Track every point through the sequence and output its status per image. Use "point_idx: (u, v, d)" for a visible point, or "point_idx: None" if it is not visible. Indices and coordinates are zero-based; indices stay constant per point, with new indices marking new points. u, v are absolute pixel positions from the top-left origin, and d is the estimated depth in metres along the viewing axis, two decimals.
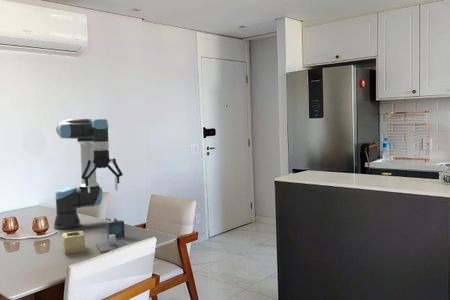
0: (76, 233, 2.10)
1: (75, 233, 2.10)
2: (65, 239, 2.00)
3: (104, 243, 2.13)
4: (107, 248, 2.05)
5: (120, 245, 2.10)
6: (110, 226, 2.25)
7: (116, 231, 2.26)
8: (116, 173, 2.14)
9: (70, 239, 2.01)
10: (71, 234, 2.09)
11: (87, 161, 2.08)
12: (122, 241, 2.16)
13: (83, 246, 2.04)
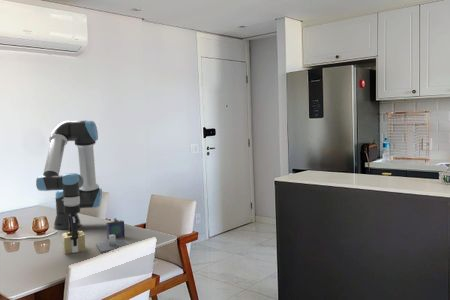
0: None
1: None
2: (65, 239, 2.00)
3: (104, 243, 2.13)
4: (107, 248, 2.05)
5: (120, 245, 2.10)
6: (110, 226, 2.25)
7: (116, 231, 2.26)
8: None
9: (70, 239, 2.01)
10: (71, 234, 2.09)
11: None
12: (122, 241, 2.16)
13: (83, 246, 2.04)
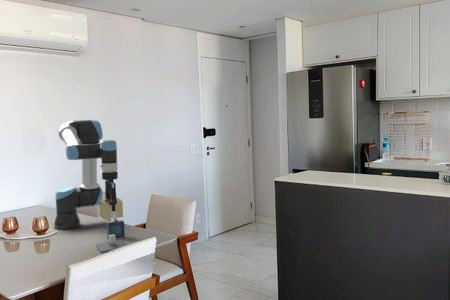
0: None
1: None
2: (104, 204, 2.03)
3: (104, 243, 2.13)
4: (107, 248, 2.05)
5: (120, 245, 2.10)
6: (110, 226, 2.25)
7: (116, 231, 2.26)
8: (110, 200, 2.03)
9: (108, 204, 2.04)
10: (108, 201, 2.11)
11: None
12: (122, 241, 2.16)
13: (121, 212, 2.07)
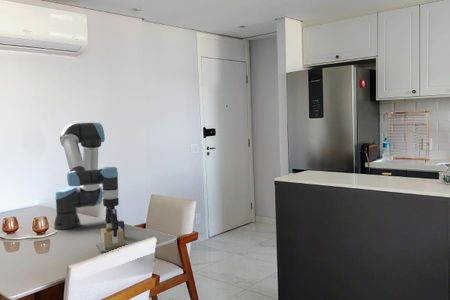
0: None
1: None
2: (105, 234, 2.04)
3: None
4: None
5: None
6: None
7: None
8: (112, 225, 2.03)
9: (110, 234, 2.05)
10: (109, 229, 2.12)
11: None
12: None
13: (122, 241, 2.08)
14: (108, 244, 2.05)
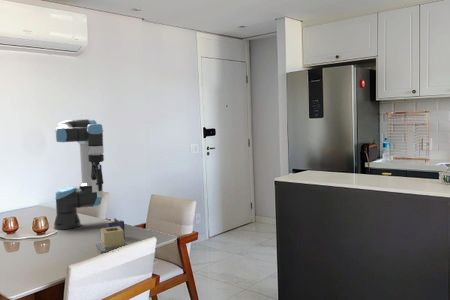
0: (114, 229, 2.13)
1: (113, 229, 2.13)
2: (105, 234, 2.04)
3: None
4: None
5: None
6: (110, 226, 2.25)
7: None
8: (97, 180, 2.09)
9: (110, 234, 2.05)
10: (109, 229, 2.12)
11: None
12: None
13: (122, 241, 2.08)
14: (108, 244, 2.05)
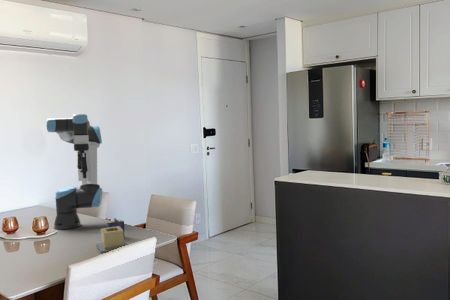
0: (114, 229, 2.13)
1: (113, 229, 2.13)
2: (105, 234, 2.04)
3: None
4: None
5: None
6: (110, 226, 2.25)
7: None
8: (81, 168, 2.17)
9: (110, 234, 2.05)
10: (109, 229, 2.12)
11: None
12: None
13: (122, 241, 2.08)
14: (108, 244, 2.05)
